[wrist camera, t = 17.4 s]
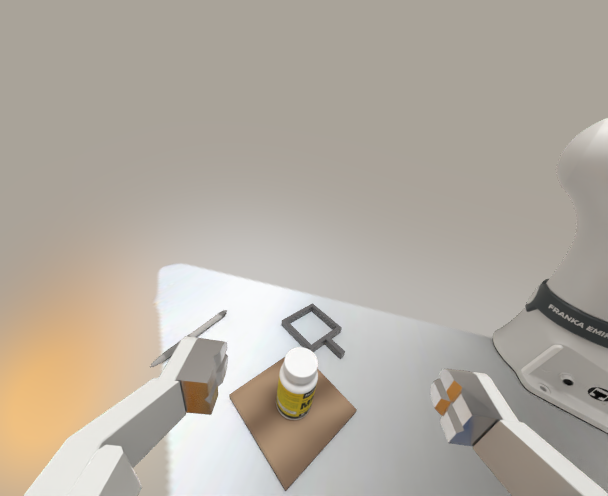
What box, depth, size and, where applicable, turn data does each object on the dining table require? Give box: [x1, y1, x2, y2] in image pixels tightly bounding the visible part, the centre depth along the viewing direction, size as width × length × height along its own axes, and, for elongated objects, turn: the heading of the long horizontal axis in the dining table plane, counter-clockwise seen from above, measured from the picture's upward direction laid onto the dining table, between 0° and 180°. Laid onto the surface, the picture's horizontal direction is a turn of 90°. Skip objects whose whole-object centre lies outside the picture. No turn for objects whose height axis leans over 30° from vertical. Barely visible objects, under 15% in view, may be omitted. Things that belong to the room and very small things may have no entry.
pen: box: [150, 310, 227, 367], centre depth 39 cm, size 1×14×1 cm, turn 148°
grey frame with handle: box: [282, 303, 345, 359], centre depth 43 cm, size 11×8×1 cm
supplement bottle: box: [276, 347, 318, 420], centre depth 30 cm, size 5×5×8 cm
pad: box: [230, 357, 356, 491], centre depth 32 cm, size 12×12×1 cm
